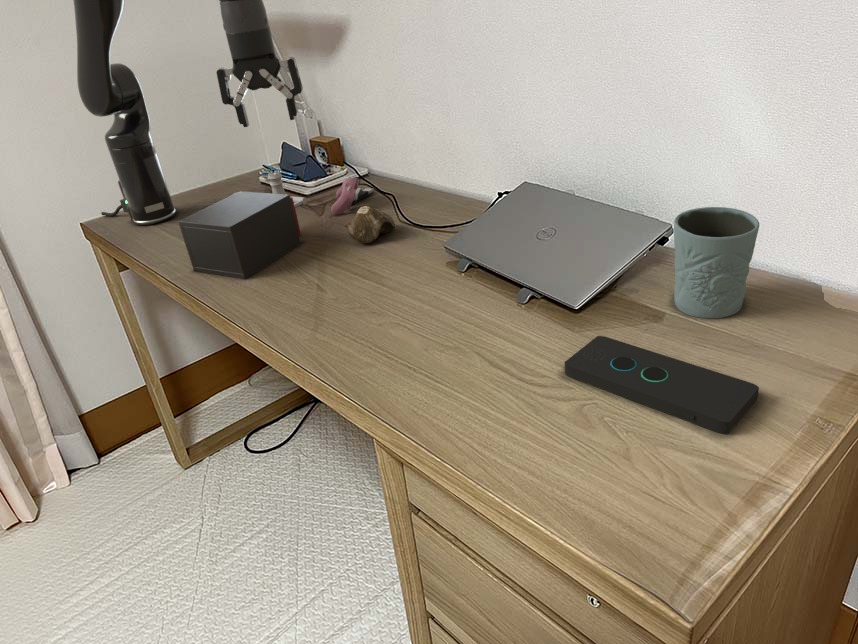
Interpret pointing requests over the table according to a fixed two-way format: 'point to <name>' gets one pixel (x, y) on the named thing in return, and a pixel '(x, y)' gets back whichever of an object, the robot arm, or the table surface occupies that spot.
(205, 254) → the dark grey box
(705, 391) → the smart home device
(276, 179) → the rook chess piece
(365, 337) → the table surface
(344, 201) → the pink irregular lump
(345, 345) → the table surface
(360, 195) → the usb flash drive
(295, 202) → the drawer
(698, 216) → the grey-green embossed cup
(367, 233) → the fossilized seashell
